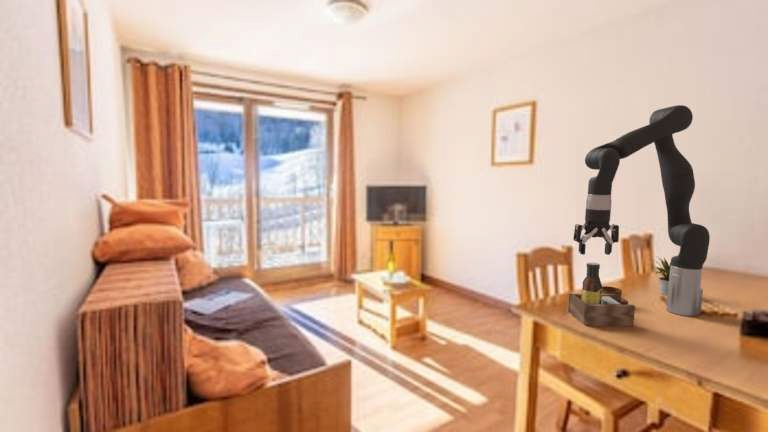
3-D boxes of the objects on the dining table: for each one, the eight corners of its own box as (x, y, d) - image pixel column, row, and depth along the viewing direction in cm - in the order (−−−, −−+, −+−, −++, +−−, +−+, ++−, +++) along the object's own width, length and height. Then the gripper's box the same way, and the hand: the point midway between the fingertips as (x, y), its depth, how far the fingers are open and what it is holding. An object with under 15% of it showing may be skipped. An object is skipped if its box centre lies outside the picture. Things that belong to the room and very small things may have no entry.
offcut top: (608, 305, 139) (609, 296, 139) (620, 314, 131) (621, 304, 131) (597, 305, 139) (597, 296, 139) (608, 313, 131) (609, 303, 131)
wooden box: (612, 312, 142) (613, 293, 141) (633, 325, 129) (635, 305, 128) (568, 311, 142) (569, 293, 141) (585, 325, 130) (586, 305, 129)
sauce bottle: (603, 322, 132) (607, 266, 129) (583, 321, 133) (587, 265, 131) (596, 315, 138) (600, 262, 136) (577, 314, 139) (581, 261, 137)
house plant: (650, 285, 174) (653, 250, 172) (688, 292, 164) (692, 255, 162) (643, 293, 163) (646, 255, 161) (684, 300, 154) (688, 261, 152)
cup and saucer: (587, 303, 151) (588, 288, 150) (599, 297, 159) (600, 282, 158) (621, 312, 142) (622, 296, 141) (632, 304, 150) (633, 289, 149)
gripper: (612, 206, 134) (609, 252, 136) (572, 206, 135) (569, 251, 137) (626, 209, 127) (621, 257, 129) (582, 208, 127) (579, 256, 129)
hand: (594, 254), depth 133 cm, fingers open, 8 cm apart
